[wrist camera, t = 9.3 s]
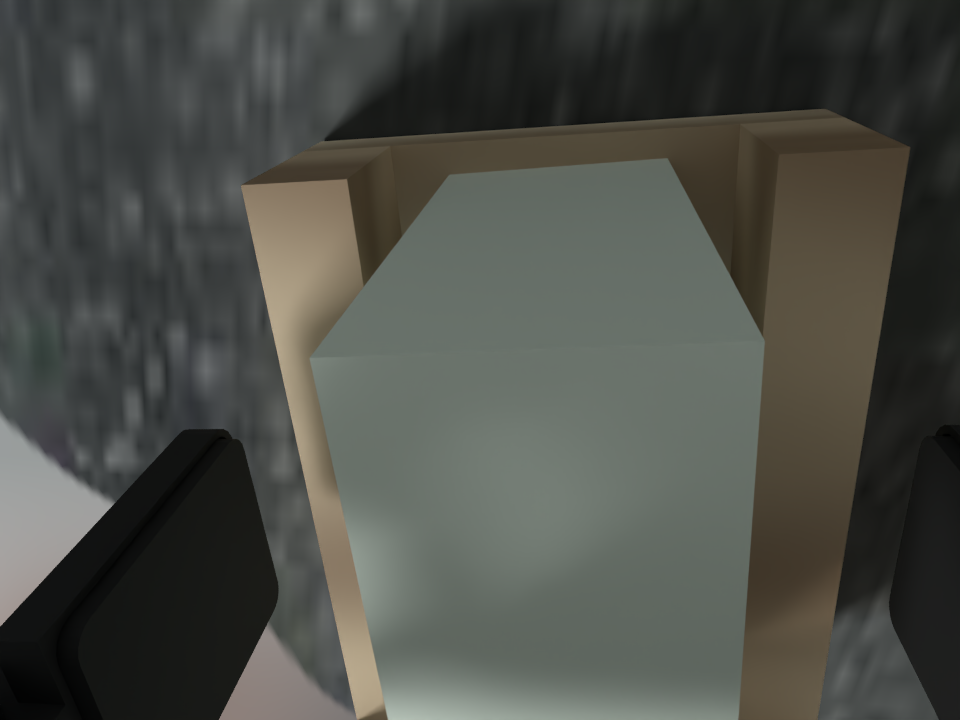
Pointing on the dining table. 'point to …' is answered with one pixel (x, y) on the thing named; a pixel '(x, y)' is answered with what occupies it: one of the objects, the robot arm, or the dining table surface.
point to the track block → (754, 270)
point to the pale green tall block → (550, 451)
